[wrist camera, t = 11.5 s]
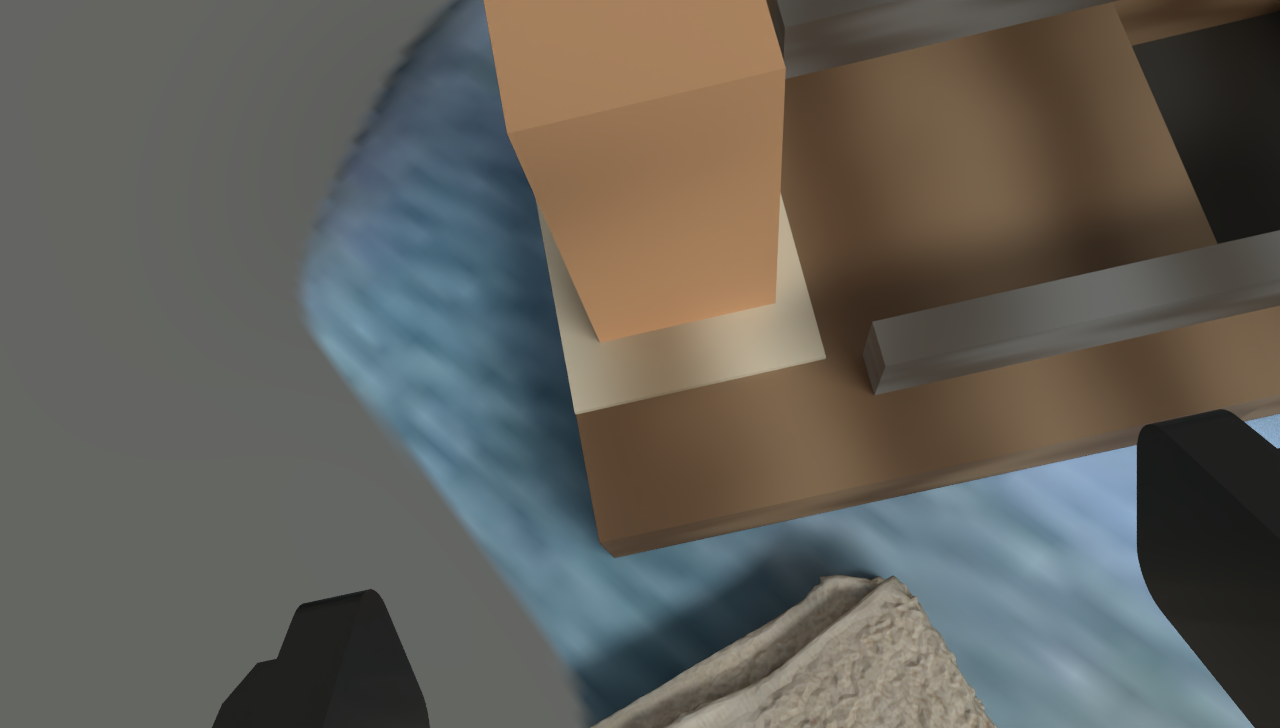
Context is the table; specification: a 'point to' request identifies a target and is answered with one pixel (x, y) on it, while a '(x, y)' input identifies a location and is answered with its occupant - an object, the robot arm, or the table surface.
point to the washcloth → (823, 670)
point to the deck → (962, 264)
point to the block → (649, 149)
